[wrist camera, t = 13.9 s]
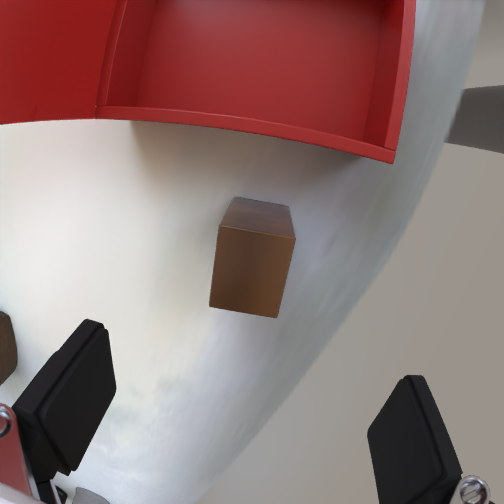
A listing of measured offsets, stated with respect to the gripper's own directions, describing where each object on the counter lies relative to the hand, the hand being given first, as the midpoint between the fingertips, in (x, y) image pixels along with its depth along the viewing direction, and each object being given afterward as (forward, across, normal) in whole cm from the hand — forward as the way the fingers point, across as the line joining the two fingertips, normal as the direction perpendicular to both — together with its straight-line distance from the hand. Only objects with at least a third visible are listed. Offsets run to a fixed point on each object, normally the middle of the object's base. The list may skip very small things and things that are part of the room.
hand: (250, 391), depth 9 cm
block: (+16, +1, 0) cm, 16 cm away
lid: (+1, +12, -14) cm, 19 cm away
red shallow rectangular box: (+16, +3, -14) cm, 21 cm away
